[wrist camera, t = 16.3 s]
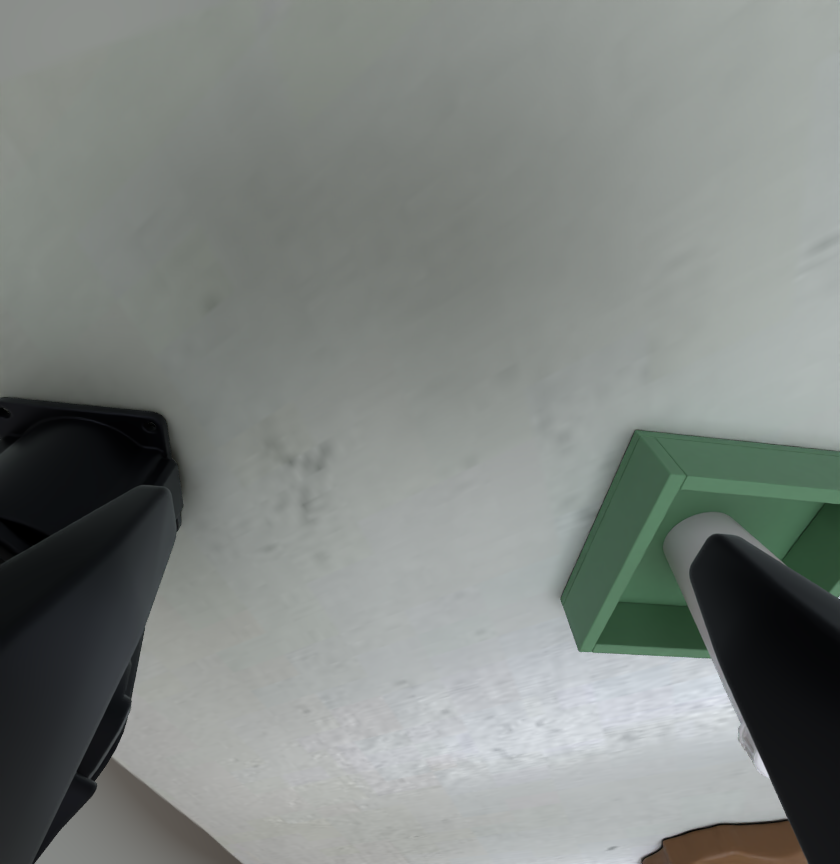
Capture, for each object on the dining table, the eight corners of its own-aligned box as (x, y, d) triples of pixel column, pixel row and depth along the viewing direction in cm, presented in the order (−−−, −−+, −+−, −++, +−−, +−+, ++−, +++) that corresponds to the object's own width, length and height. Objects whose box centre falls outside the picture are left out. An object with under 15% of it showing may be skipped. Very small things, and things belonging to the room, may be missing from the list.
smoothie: (752, 571, 26) (1048, 937, 14) (633, 590, 27) (825, 962, 15) (776, 479, 23) (1189, 859, 11) (639, 503, 23) (895, 894, 11)
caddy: (559, 599, 28) (578, 652, 25) (635, 429, 22) (670, 474, 19) (743, 610, 29) (781, 662, 26) (862, 453, 23) (927, 499, 20)
